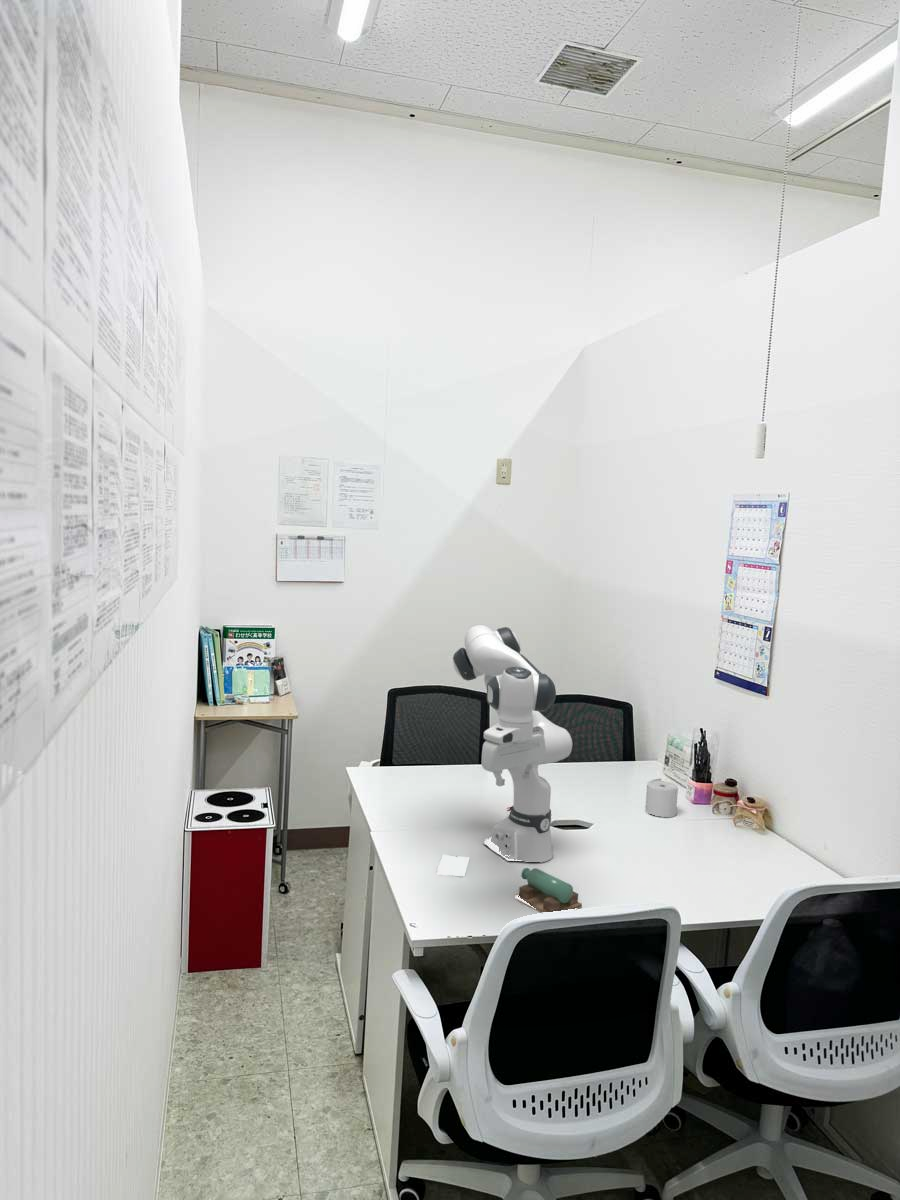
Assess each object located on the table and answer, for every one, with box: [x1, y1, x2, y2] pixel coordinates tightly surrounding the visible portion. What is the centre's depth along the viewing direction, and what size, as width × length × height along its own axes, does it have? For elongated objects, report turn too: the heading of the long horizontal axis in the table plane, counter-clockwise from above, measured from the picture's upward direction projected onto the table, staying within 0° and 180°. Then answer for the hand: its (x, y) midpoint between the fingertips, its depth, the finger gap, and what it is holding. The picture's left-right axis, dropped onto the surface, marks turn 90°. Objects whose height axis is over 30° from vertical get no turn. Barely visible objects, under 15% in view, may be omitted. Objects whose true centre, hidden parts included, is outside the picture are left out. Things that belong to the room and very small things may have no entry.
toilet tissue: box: [645, 778, 679, 818], centre depth 296 cm, size 11×12×10 cm
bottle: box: [520, 867, 574, 903], centre depth 224 cm, size 15×5×5 cm, turn 40°
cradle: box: [518, 883, 583, 913], centre depth 223 cm, size 14×11×4 cm
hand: (513, 782), depth 219 cm, fingers open, 8 cm apart
